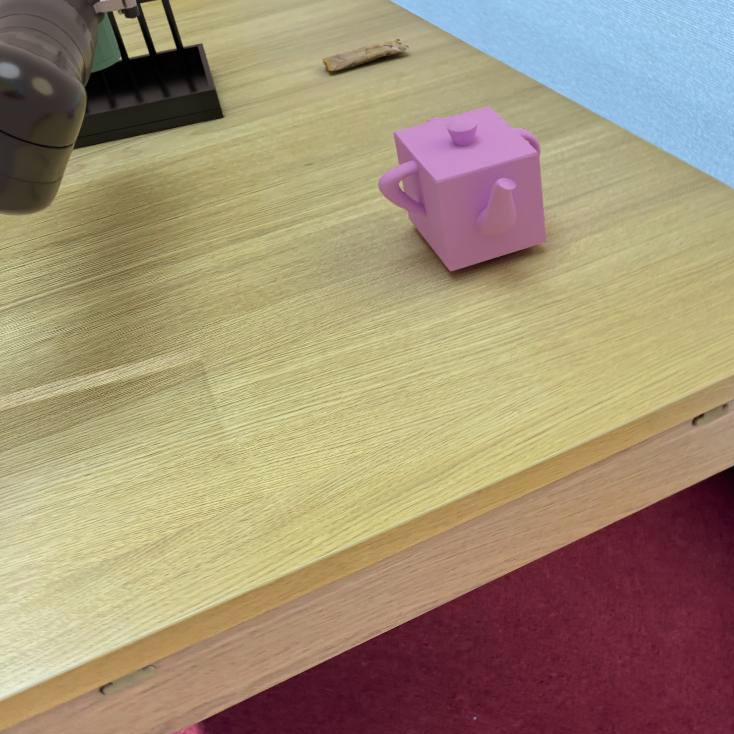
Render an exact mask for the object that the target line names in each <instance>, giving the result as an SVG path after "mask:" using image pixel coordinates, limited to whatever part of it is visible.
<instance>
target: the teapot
mask: <svg viewBox="0 0 734 734" xmlns="http://www.w3.org/2000/svg"><path fill="white" fill-rule="evenodd" d="M393 139H394V144H395V145H394V146H395V149H396V154H397V155H396V156H397V160H398V161H397V162H398V165H396V166H394V167H392V168H390V169H389V170H387V171H386V172H383V174H382V175H381V176H380V178H379V179H378V183H377V187H378V190H379V191H380V193H381V194H382V196H383V197H384V198H385V199H386V200H387V201H389V202H390V203H392V204H393V205H395V206H396V207H398V208H401V209H403V210H405V211H407V216H408V219H409V220H410V222H411V223H412V224H413V225H414V227H415V228H416V230H417V231H418V232H419V233H420V234H421V236H422V237H423V238H424V240H425V241H426V243H427V244H428V245H429V246H430V247H431V249H432V250H433V252H434V253H435V254H436V255H437V256H438V258H439V259H440V260H441V261H442V263H443V264H444V266H445V267H446V268H447V269H448V270H449V272H453V271H457V270H461V269H464V268H466V267H470V266H473V265H477V264H479V263H482V262H486V261H489V260H492V259H495V258H499V257H501V256H506V255H509V254H512V253H515V252H518V251H521V250H525V249H528V248H531V247H534V246H538V245H540V244H545V243H547V234H546V233H547V232H546V219H545V210H544V197H543V186H542V185H543V183H542V173H541V161H540V160H541V159H540V158H541V152H542V151H541V144H540V141H539V139H538V138H537V137H536V136H535V134H533V133H532V132H531V131H529V130H528V129H525V128H523V127H522V128H521V127H513V126H511V125H510V124H509V123H508V122H507V121H506V120H505V119H504V118H503V117H502V116H501V115H499V114H498V113H497V112H496V111H495V110H494V109H493V108H492V107H490V106H489V105H488V106H484V107H481V108H478V109H474V110H470V111H466V112H461V113H459V114H454V115H451V116H447V117H444V118H441V117H431V118H429V119H428V120H426V122H425V123H422V124H418V125H414V126H410V127H407V128H404V129H400V130H396V131H393ZM401 182H402V188H403V189H402V188H401V187H400V183H401Z"/></svg>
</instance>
